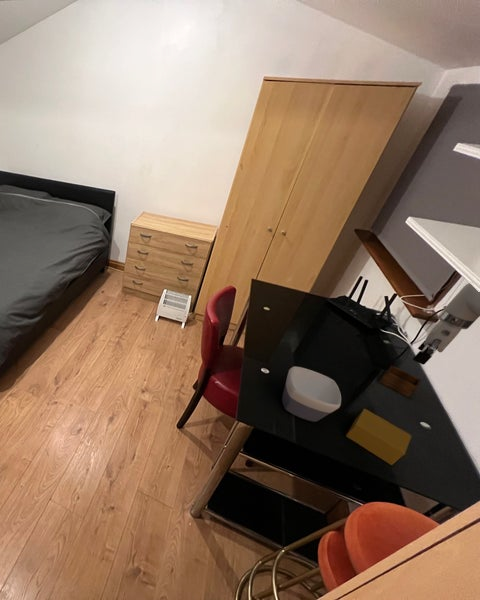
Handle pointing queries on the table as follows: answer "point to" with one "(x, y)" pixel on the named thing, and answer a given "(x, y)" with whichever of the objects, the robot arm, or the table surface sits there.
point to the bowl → (310, 394)
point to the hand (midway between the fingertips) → (420, 356)
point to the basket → (400, 381)
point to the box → (379, 437)
